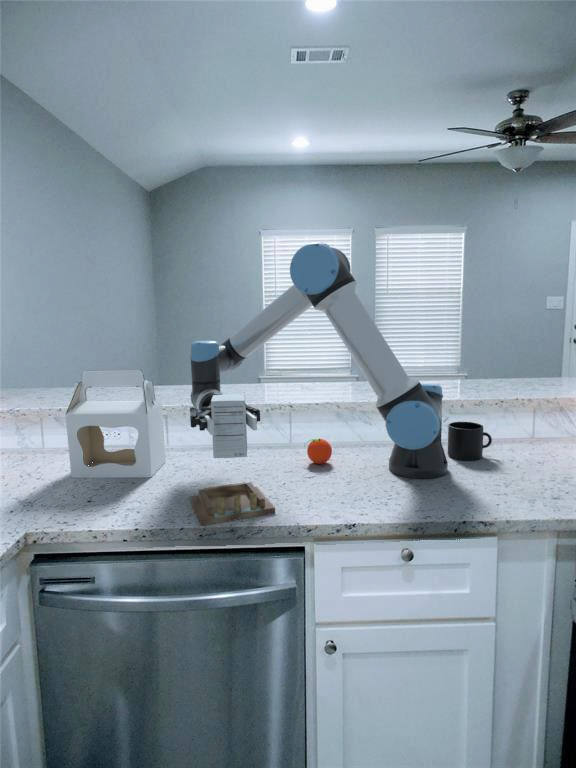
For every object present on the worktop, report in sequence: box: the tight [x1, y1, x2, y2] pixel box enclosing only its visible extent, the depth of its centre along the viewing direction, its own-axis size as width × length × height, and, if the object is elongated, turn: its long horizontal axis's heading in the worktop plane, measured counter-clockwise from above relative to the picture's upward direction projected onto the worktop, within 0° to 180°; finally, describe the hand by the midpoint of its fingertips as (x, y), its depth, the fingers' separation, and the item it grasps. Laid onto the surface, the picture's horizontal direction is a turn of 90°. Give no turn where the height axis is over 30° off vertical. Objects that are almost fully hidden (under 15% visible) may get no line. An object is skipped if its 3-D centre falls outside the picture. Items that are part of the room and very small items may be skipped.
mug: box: [447, 421, 493, 462], centre depth 145 cm, size 9×12×9 cm
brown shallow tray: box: [189, 481, 276, 526], centre depth 113 cm, size 16×14×5 cm
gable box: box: [65, 369, 166, 479], centre depth 139 cm, size 22×13×28 cm, turn 87°
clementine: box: [304, 438, 333, 465], centre depth 142 cm, size 8×7×7 cm
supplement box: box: [211, 393, 248, 459], centre depth 111 cm, size 7×7×13 cm
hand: (233, 426), depth 107 cm, fingers closed on supplement box, 8 cm apart
